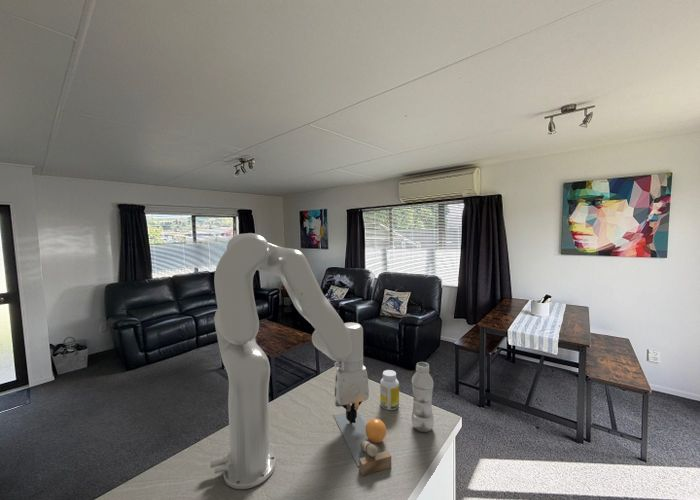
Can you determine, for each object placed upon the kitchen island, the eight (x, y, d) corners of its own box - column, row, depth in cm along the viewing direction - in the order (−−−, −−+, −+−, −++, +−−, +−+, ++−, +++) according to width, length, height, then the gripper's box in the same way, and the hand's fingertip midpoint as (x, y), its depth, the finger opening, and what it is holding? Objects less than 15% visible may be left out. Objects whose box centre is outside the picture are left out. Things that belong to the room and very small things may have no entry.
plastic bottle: (434, 436, 84) (435, 370, 83) (411, 433, 85) (411, 368, 84) (432, 422, 90) (433, 360, 89) (411, 420, 92) (411, 359, 91)
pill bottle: (401, 403, 101) (402, 371, 100) (394, 413, 95) (394, 379, 95) (385, 398, 104) (385, 367, 103) (377, 407, 99) (377, 374, 98)
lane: (357, 466, 73) (357, 466, 73) (333, 416, 94) (333, 415, 94) (386, 458, 76) (386, 457, 76) (356, 410, 97) (356, 410, 97)
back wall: (362, 476, 70) (362, 464, 70) (359, 470, 72) (359, 458, 72) (391, 467, 73) (391, 455, 73) (387, 461, 75) (387, 450, 75)
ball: (379, 413, 82) (360, 419, 83) (384, 438, 78) (364, 444, 79) (386, 418, 86) (368, 423, 87) (391, 441, 82) (372, 446, 83)
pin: (361, 452, 78) (369, 458, 71) (358, 441, 79) (367, 446, 72) (369, 449, 79) (379, 454, 72) (367, 438, 80) (376, 443, 73)
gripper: (331, 373, 83) (331, 434, 83) (378, 364, 88) (378, 422, 88) (324, 362, 90) (325, 418, 91) (368, 355, 95) (368, 409, 96)
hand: (351, 420), depth 89 cm, fingers closed
